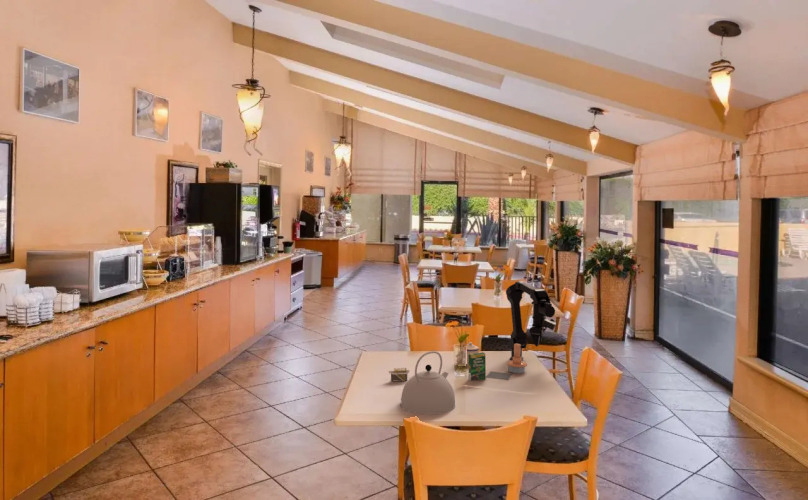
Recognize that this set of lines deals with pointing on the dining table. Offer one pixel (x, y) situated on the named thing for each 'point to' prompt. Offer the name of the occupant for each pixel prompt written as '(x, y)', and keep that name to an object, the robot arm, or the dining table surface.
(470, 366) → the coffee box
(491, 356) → the dining table surface
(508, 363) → the wooden peg stand
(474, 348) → the teacup with lid
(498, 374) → the mat
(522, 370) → the bowl
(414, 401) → the kettle
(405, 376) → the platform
